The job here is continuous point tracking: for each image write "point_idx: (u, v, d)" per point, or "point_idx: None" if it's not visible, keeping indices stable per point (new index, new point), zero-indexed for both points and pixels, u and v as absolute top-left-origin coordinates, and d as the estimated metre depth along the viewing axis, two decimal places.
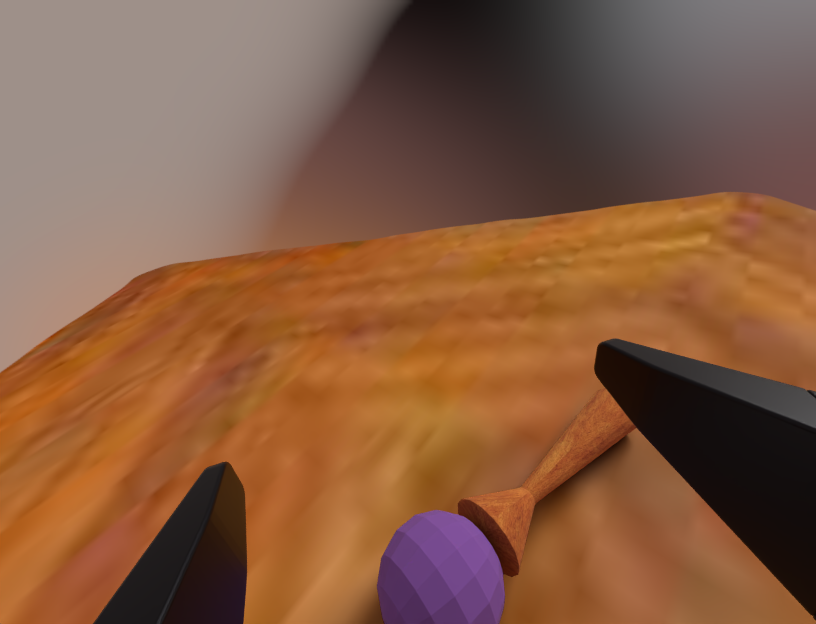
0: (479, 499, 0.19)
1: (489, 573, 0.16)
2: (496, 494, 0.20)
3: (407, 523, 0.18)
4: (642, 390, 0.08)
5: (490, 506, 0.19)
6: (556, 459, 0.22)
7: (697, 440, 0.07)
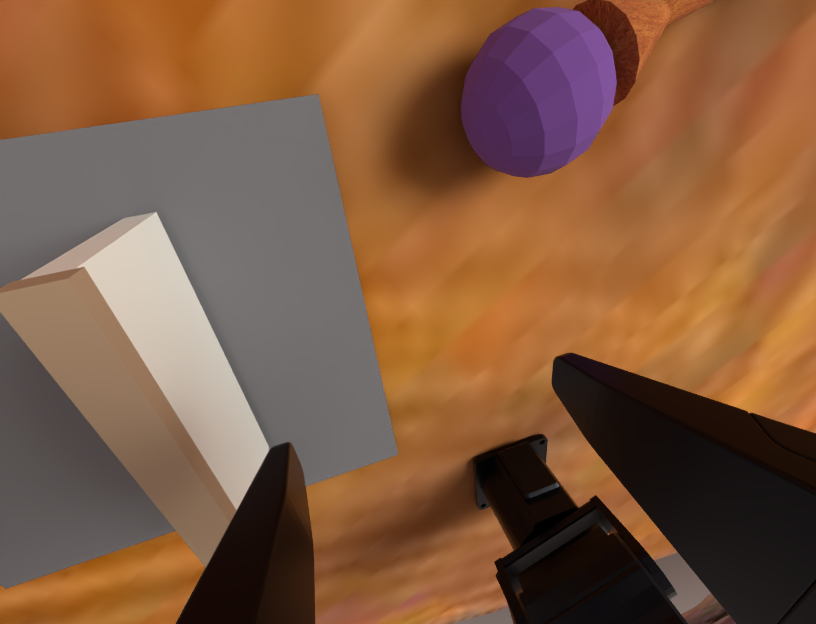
0: (633, 16, 0.14)
1: (603, 123, 0.15)
2: (647, 10, 0.14)
3: (547, 27, 0.12)
4: (593, 407, 0.08)
5: (642, 36, 0.14)
6: None
7: (645, 460, 0.07)
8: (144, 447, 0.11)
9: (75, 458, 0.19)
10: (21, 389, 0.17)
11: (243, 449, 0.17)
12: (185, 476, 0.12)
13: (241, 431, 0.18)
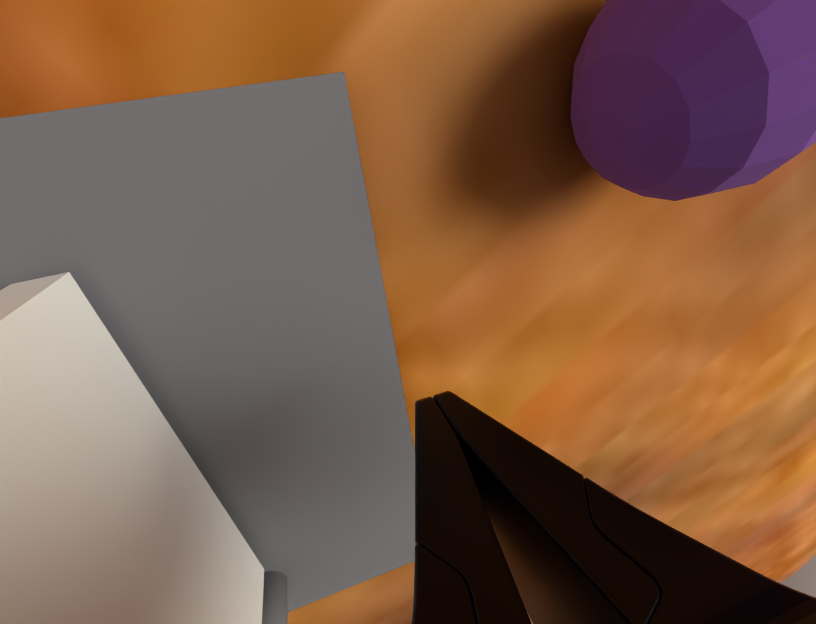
0: None
1: None
2: None
3: None
4: None
5: None
6: None
7: None
8: None
9: None
10: None
11: (224, 620, 0.11)
12: None
13: (221, 587, 0.12)
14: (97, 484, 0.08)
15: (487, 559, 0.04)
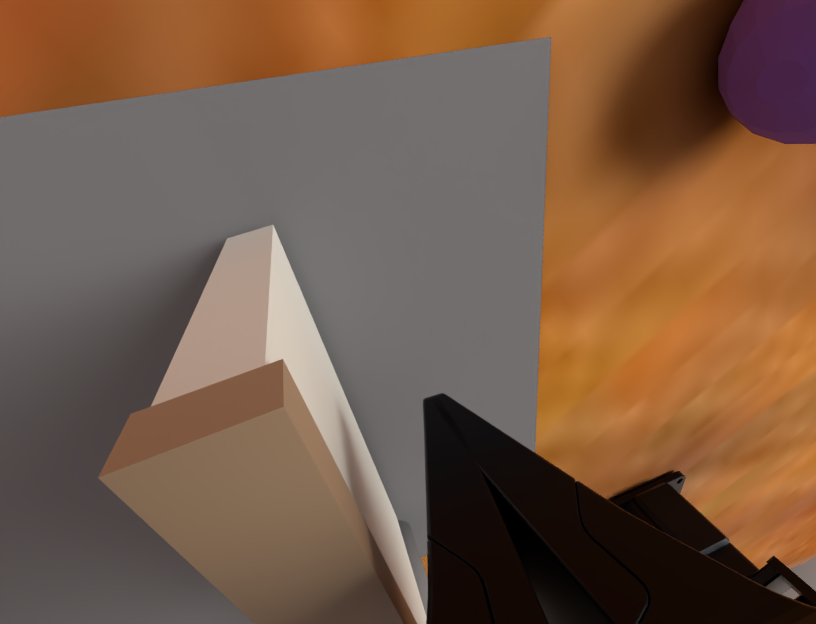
0: None
1: None
2: None
3: None
4: None
5: None
6: None
7: None
8: None
9: (163, 551, 0.14)
10: None
11: (398, 547, 0.12)
12: None
13: (389, 519, 0.13)
14: (333, 403, 0.09)
15: (500, 553, 0.05)
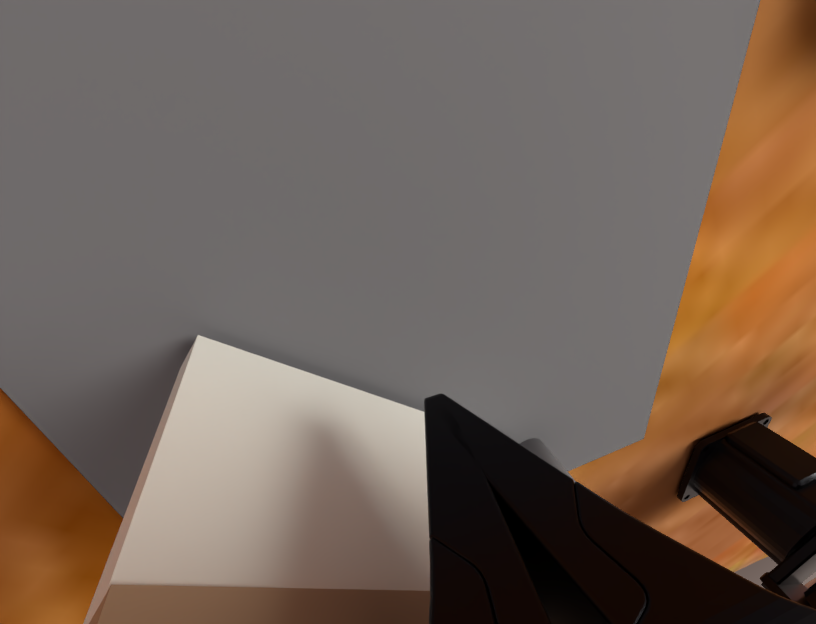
0: None
1: None
2: None
3: None
4: None
5: None
6: None
7: None
8: None
9: None
10: (319, 353, 0.12)
11: None
12: None
13: None
14: (330, 450, 0.09)
15: (502, 553, 0.05)
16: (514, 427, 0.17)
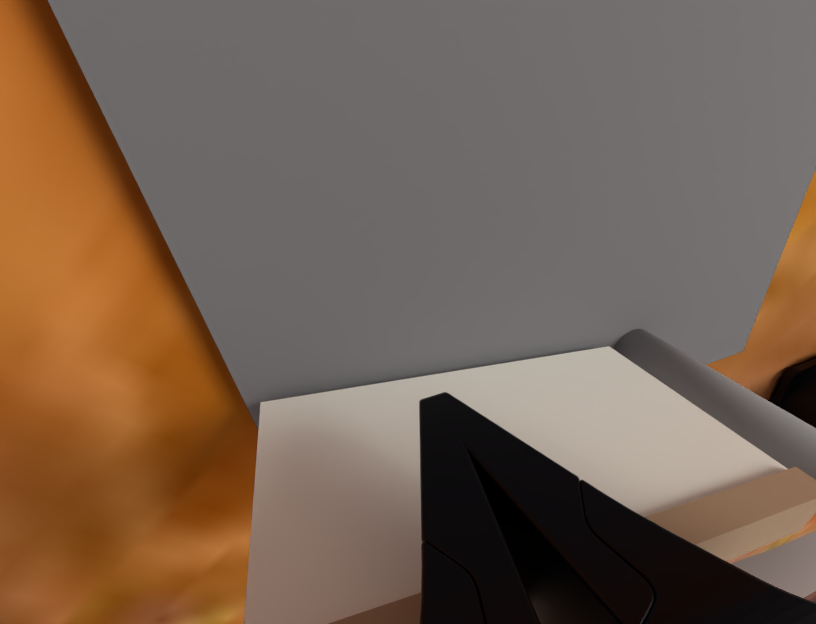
0: None
1: None
2: None
3: None
4: None
5: None
6: None
7: None
8: None
9: (456, 305, 0.13)
10: (452, 163, 0.11)
11: (600, 407, 0.12)
12: None
13: (573, 396, 0.13)
14: (398, 455, 0.10)
15: (494, 556, 0.05)
16: (625, 309, 0.15)
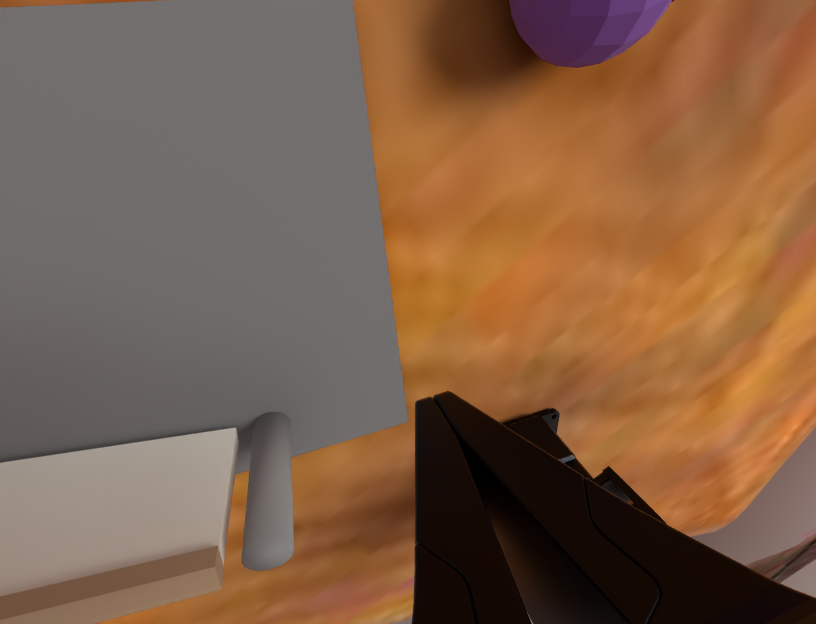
0: None
1: (670, 0, 0.13)
2: None
3: None
4: None
5: None
6: None
7: None
8: None
9: (60, 406, 0.17)
10: (0, 319, 0.15)
11: (149, 489, 0.16)
12: None
13: (141, 478, 0.17)
14: None
15: (487, 559, 0.04)
16: (247, 399, 0.20)
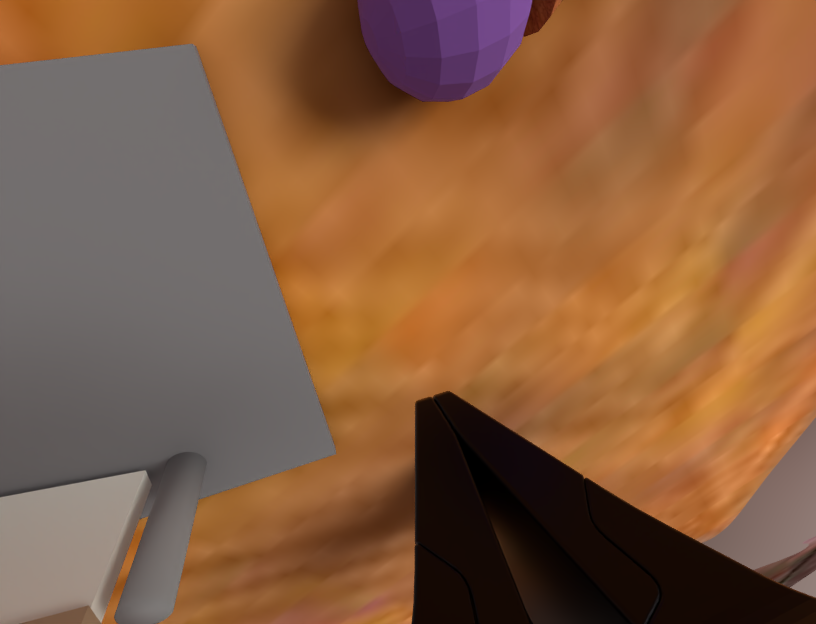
0: None
1: (519, 35, 0.12)
2: None
3: None
4: None
5: None
6: None
7: None
8: None
9: None
10: None
11: (38, 542, 0.16)
12: None
13: (34, 530, 0.17)
14: None
15: (487, 559, 0.04)
16: (155, 442, 0.20)
